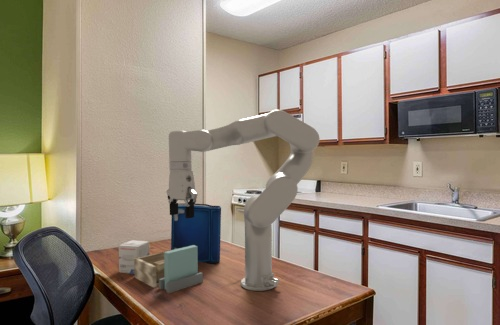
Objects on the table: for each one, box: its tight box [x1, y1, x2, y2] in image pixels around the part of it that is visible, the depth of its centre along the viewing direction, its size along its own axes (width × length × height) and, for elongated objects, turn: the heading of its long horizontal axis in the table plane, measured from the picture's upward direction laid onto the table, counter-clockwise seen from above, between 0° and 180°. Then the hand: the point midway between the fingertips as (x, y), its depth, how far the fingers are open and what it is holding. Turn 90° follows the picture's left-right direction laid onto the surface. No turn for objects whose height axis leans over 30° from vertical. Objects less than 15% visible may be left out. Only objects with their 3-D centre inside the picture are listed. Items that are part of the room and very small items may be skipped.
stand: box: [158, 271, 204, 295], centre depth 117 cm, size 9×15×4 cm, turn 135°
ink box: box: [118, 239, 150, 275], centre depth 133 cm, size 9×8×12 cm
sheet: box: [163, 245, 199, 291], centre depth 117 cm, size 2×12×13 cm, turn 135°
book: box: [170, 202, 222, 264], centre depth 145 cm, size 22×7×25 cm, turn 84°
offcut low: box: [156, 272, 165, 283], centre depth 123 cm, size 4×10×4 cm, turn 135°
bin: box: [134, 249, 171, 289], centre depth 125 cm, size 14×16×8 cm
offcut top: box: [153, 260, 164, 273], centre depth 123 cm, size 4×8×3 cm, turn 139°
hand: (181, 216), depth 116 cm, fingers open, 9 cm apart
